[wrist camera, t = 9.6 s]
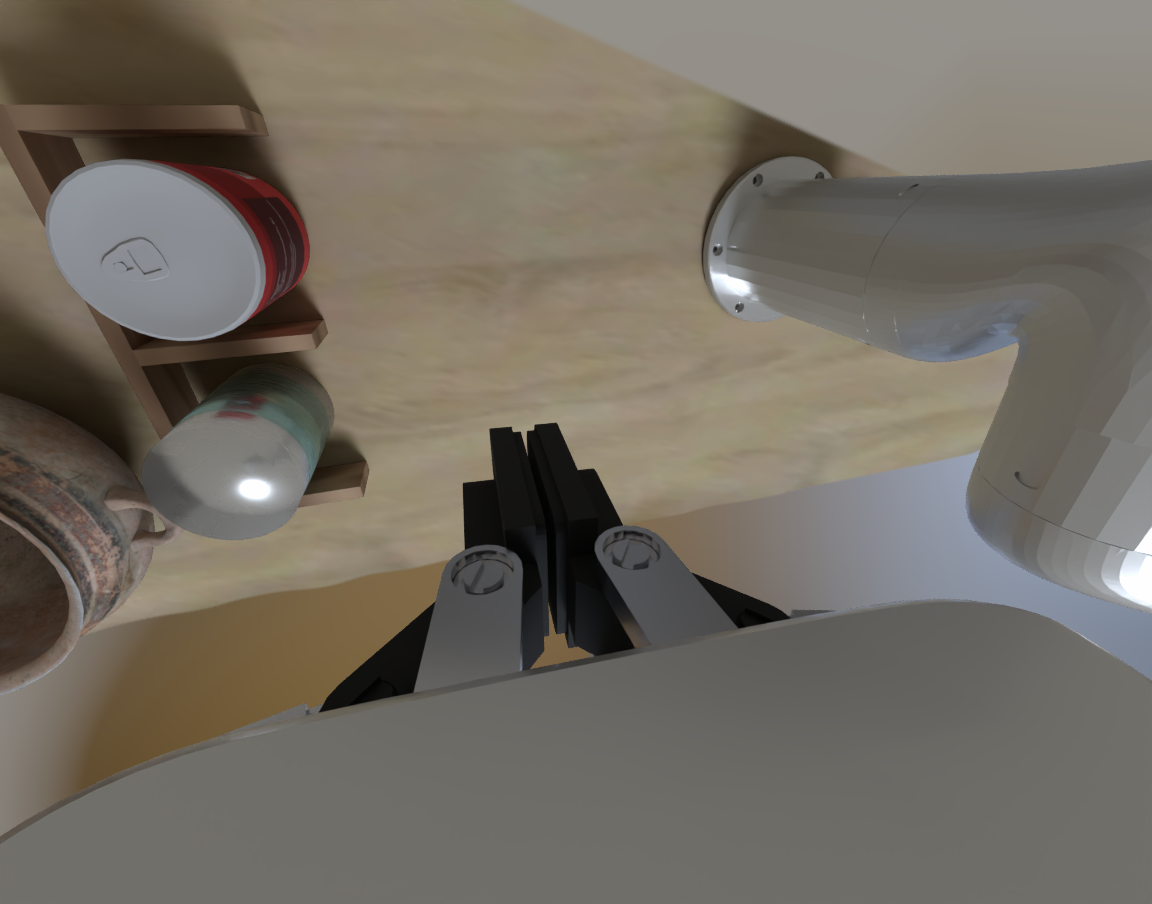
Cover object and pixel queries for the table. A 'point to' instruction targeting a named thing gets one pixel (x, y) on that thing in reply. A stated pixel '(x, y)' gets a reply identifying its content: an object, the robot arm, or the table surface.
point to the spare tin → (241, 454)
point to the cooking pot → (63, 537)
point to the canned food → (175, 245)
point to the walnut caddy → (149, 363)
